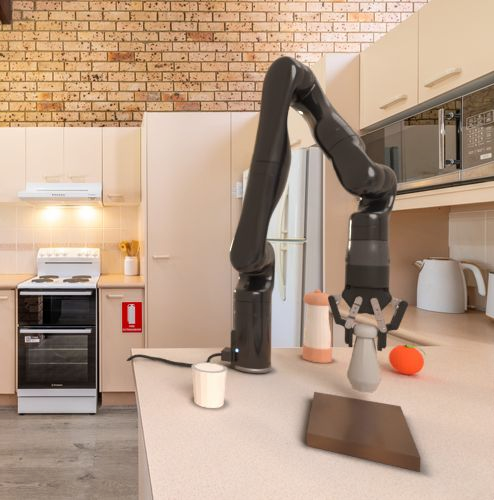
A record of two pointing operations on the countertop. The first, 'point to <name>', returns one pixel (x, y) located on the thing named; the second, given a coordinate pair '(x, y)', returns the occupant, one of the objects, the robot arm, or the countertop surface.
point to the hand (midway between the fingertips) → (364, 347)
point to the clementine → (406, 359)
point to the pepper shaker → (317, 328)
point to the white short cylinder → (209, 384)
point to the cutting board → (362, 430)
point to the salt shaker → (364, 360)
